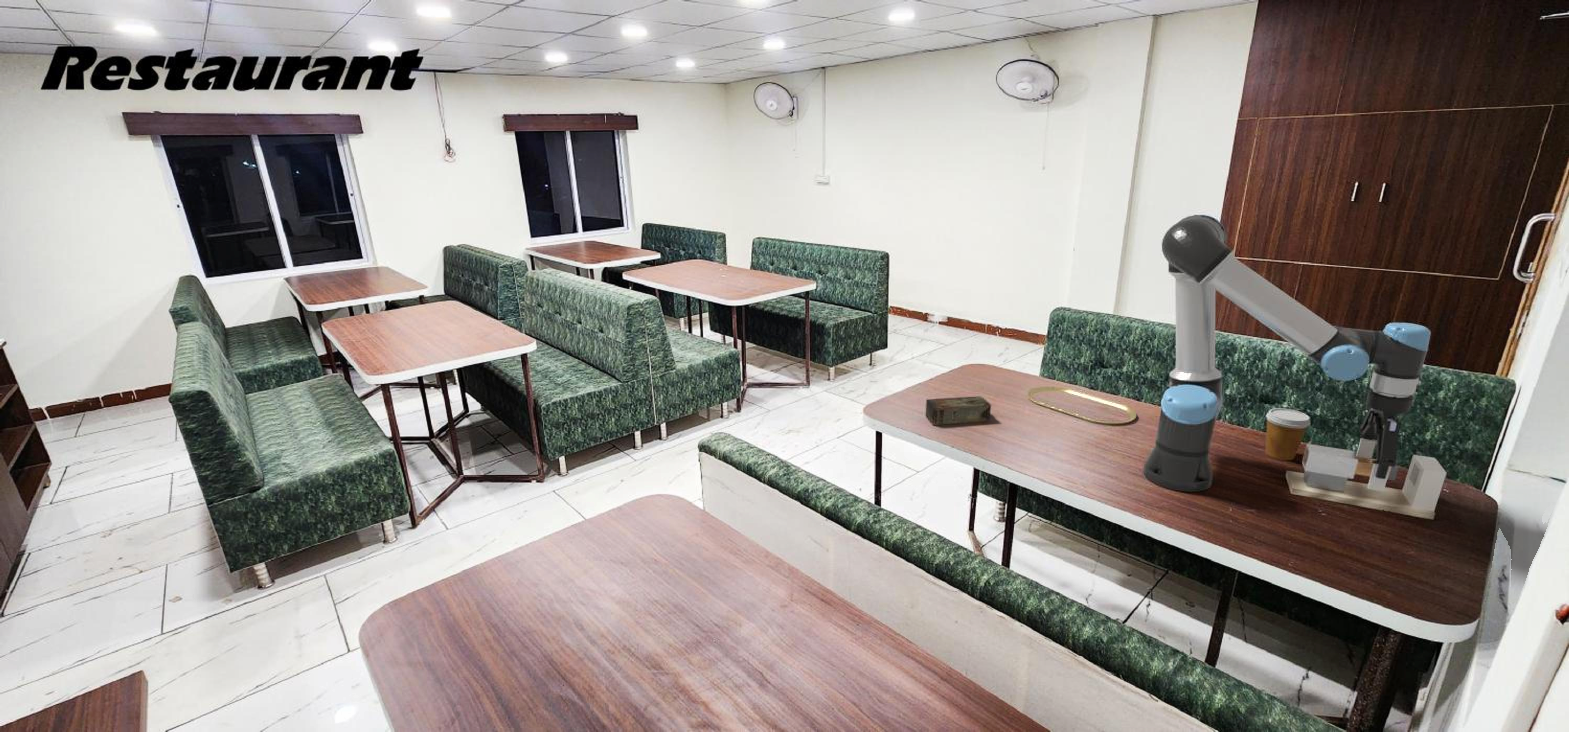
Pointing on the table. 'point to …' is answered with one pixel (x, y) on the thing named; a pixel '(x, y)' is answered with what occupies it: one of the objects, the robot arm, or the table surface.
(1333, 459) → the sleeve
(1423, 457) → the socket block
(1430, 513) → the bench board
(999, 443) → the table surface
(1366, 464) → the brown wooden bar
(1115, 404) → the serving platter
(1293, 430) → the disposable coffee cup
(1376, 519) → the table surface
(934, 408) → the beverage carton
